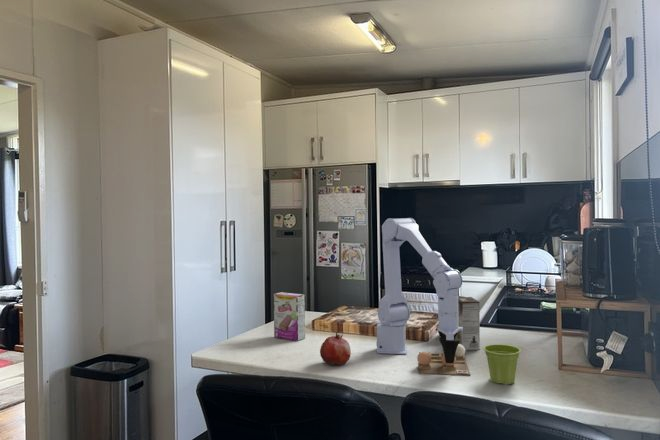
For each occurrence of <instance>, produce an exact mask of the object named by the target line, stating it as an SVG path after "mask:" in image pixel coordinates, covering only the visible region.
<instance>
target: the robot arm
mask: <svg viewBox="0 0 660 440" xmlns="http://www.w3.org/2000/svg"><path fill="white" fill-rule="evenodd" d="M381 233H382V235H381V236H382V253H383V255H382V256H383V257H382V258H383V274H384V275H383V276H384V290H385V291H384V296H383V297H382V298H381V299H379V301H378V309H377V318H378V320H379V322H380V323H377V325H376V342H375V343H376V353H377V354H389V355H390V354H391V355H407V352H408V351H407V350H408V347H407V346H406V324H408V320H409V319H410V317H411V309H410V306H409V302H408V301H409V300H408V299H407V297H405V296H404V294H402V293H403V292H402V290H403V289H402V277H401V276H402V275H401V271H402V270H401V257H400V256H401V255H400V247H401V246H402V245H403V243H404V242H406V241H407V242H409V244H410V245H411V246H412V247H413V248H414V249H415V250H416V251H417V253H418V254H419V255H420V256H421V257H422V260H421V264H422V265H423V267H425V269H426V270H427V272H428V273H429V274H430V276H431V277H432V279H433V281H432V284H433V287H434V288H435V292H436V296H437V306H438V307H437V317H438V318H437V325H438V326H437V333H438V335H439V336H440V337H438V340H439V342H440V344H441V346H442V351H443V353H444V357H445V361H446V363H454V359H455V353H456V349H457V346H458V344H459V342H460V339H455V337H456V335H457V332H458V331H463V327H459V321H458V296H459V289H460V288H461V287H462V285H463V276H462V275H461V273H460V271H459V270H458V269H454V268H453V267H450V265H449V264H448V263H447V262H446V260H445V259H444V258H443V257H442V254H441V253H440V252H438V251H437V250H432V248H431V247H430V246H429V244H428V243H427V241H426V239H425V238H424V237H423V235H422V234H421V232H420V230H419V224H417V223H416V220H415V219H414V218H413V217H407V218H406V217H405V218H403V217H402V218H390V217H389V218H387V219H386V220H385V221H384V222H383V224H382V225H381Z"/></svg>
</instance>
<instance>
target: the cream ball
mask: <svg viewBox="0 0 660 440" xmlns="http://www.w3.org/2000/svg"><path fill="white" fill-rule="evenodd" d="M465 353H466V350H465V348H464V346H463V345H461V344H458V346H457V349H456V353H455V356H456V357H462V356H463V355H464V356H465Z"/></svg>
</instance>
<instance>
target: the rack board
mask: <svg viewBox="0 0 660 440" xmlns="http://www.w3.org/2000/svg"><path fill="white" fill-rule="evenodd" d="M421 352H422V351H421ZM421 352H418V354H419V353H421ZM428 353H429V354H430V356H431V362H430V364H429V365H427V366H425V365H420V364H419V362H418V361H417V369H418V374H420V375H421V374H422V375H424V374H425V375H442V376H443V375H444V376H445V375H446V376H448V375H449V376H467V377H469V376H471V372H470V369H469V365H468V363H467V359H466V357H465V356H466V355H465V354H464V355H463V356H462V357H456V356H455V358H456V363H455V364H454V365H453V366H452V367H450V366H445V365H444V364H443V362H442V356H443V355H444V352H428Z"/></svg>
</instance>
